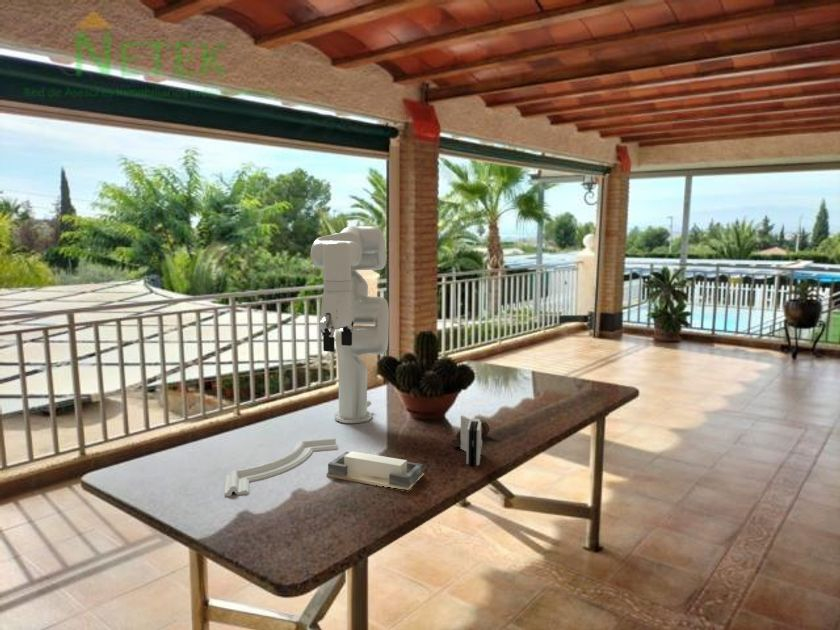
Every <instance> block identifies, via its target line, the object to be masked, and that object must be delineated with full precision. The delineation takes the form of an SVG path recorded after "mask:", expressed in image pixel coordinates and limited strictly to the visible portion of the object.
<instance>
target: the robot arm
mask: <svg viewBox="0 0 840 630" xmlns="http://www.w3.org/2000/svg"><path fill="white" fill-rule="evenodd" d="M385 242H386V241H385V237H384V234H383V232H382V230H381V229H380V228H379V226H374V225H372V226H370V225H368V226H365V225H360V226H359V225H354V226H352V225H351V226H347V227H345V228H343V229H342V230H341V231H340V232H337V233H334V234H328V235H323V236H319V237H318V238H316V239H315V240H314V241H313V243H312V245H311V248H310V259H311V262H312V264H313V265H314V266H315V267H318V268H322V269H323V270H322V271H323V275H322V276H323V277H322V278H323V293H322V297H321V307H320V321H319V323H318V325H319V328H320V333H321V336H322V339H323V340H322V344H323V346H322V348H323V352H328V353H331V352H332V353H334V352H335V349H336V352H337V353H336V354H337V364H338V365H337V367H338V371H337V372H338V412H336V413H335V414H334V416H333V417H334V420H335V421H337V422H338V421H339V423H343V424H361V423H365V422H368V421H370V420H371V419H372V418H373V417H372V415H373V414H372V412H370V411H368V407H371V406H372V402H371V401H370V400H368V367H367V365H366V362H365V361H364V360H363V358H362V357H361V355H371V356H372V355H374V356H375V355H376V356H377V355H383V354H385V353H386V352H387V350H388V346H389V325H390V323H389V321H390V311H389V309H390V307H389V303H388V300H386V298H384V297H381V296H368V293H369V284H368V282H367V281H366V280H365V278H364V277H363V276H362V275H361V274H360V273H359V272H358V271H380V270H383V269H384V268H385V267H386V265H387V256H388V255H387V250H386V249H387V248H386V243H385ZM372 325H373V326H372ZM335 332H336V333H335ZM334 335H335V337H334ZM335 346H336V347H335Z"/></svg>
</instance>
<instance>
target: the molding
mask: <svg viewBox="0 0 840 630" xmlns="http://www.w3.org/2000/svg"><path fill="white" fill-rule="evenodd" d="M334 450H336V451H337V450H338V445H337V440H336V437H332V438H331V437H329V438H319V439H305V440H299V441H298V442H297V443H295V444H294V448H293V450H292V451H290V452H289V453H288V454H286V455H284V456H282V457H280V458H278V459H277V458H276V459H274V460H272V461H270V462H269V461H268V462H265V463H263V464H260V465H258V464H257V465H254V466H250V467H247V468H242V469H241V468H240V469H234V470H231V472H230V473H228V474H226V477H225V483H224V484H225V485H224V497H230V496H232V494H233V492H234V493H235V494H236V496H237V495H238V496H240V495H241V496H242V495H249V494H250V493H249V492H250V483H252V482H256V481H261V480H264V479H269V478H272V477H274V476H275V477H276V476H277V475H280V474H282V473H285V472H287V471H289V470H292V469H294V468H296V467H297V466H299V465H301V464H302V463H304V462H305V461H307V460H308V459H309V457H310V456H311V455H312V454H313V452H322V451H324V452H325V451H334Z"/></svg>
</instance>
